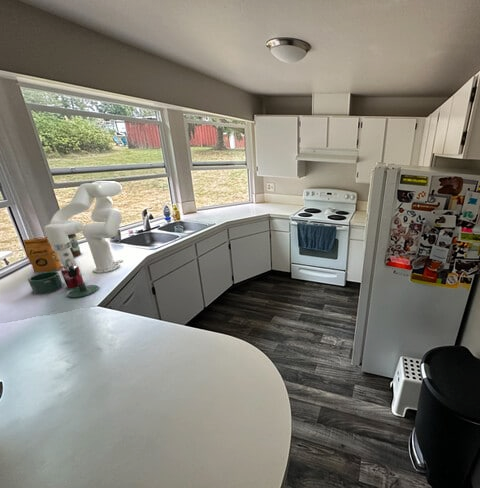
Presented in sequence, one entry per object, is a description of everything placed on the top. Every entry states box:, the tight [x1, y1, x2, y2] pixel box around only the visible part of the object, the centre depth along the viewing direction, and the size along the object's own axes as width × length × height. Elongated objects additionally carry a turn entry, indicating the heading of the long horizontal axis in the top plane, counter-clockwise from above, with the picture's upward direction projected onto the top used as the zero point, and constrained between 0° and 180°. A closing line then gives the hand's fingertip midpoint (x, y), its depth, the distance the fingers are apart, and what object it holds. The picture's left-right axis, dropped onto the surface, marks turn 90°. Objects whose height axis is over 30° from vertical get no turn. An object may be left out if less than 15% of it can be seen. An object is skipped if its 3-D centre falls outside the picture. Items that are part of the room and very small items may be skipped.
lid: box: [67, 281, 99, 298], centre depth 139 cm, size 13×13×6 cm
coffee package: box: [23, 237, 63, 274], centre depth 160 cm, size 10×12×22 cm
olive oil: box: [68, 233, 82, 258], centre depth 181 cm, size 11×11×25 cm
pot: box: [27, 271, 64, 295], centre depth 141 cm, size 12×17×8 cm
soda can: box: [60, 264, 85, 290], centre depth 144 cm, size 7×7×12 cm
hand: (71, 274), depth 143 cm, fingers open, 9 cm apart
